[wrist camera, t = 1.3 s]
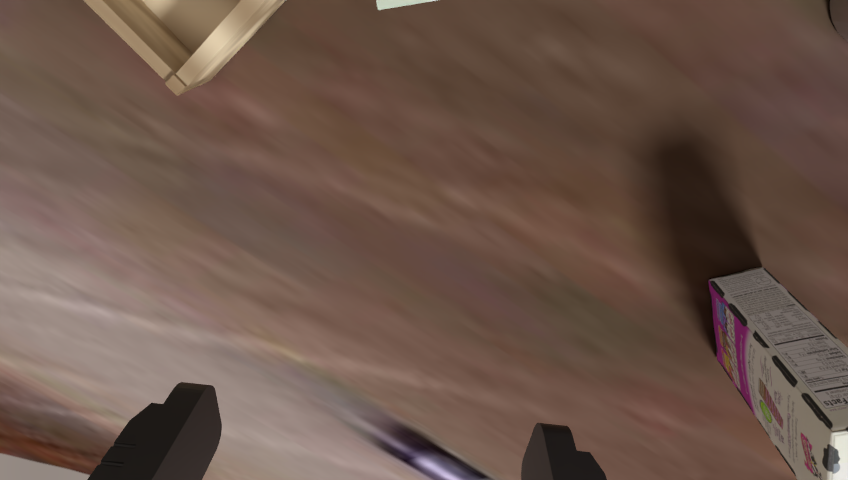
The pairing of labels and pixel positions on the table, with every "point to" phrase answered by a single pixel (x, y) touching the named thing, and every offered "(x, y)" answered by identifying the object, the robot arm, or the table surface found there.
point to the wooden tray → (185, 33)
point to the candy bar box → (784, 370)
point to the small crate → (397, 3)
